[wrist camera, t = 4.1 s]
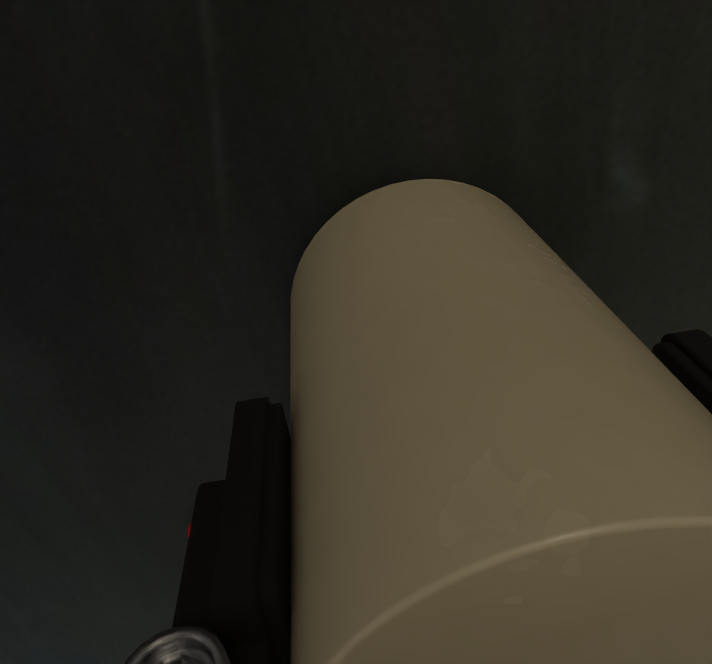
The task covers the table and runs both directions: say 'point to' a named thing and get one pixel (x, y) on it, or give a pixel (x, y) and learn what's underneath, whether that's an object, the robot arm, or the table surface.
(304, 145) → the table surface
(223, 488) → the robot arm
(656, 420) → the beige cylinder
